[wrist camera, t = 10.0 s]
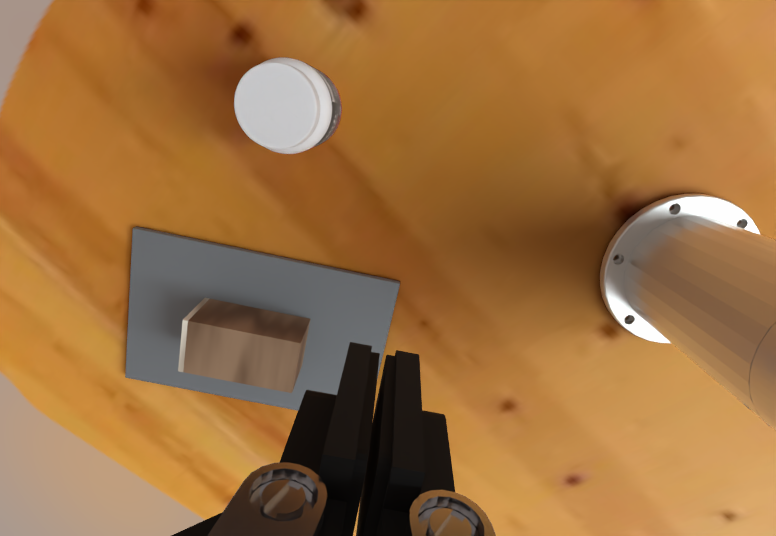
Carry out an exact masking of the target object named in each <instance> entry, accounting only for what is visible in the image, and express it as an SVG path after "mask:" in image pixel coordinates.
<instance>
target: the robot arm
mask: <svg viewBox="0 0 776 536" xmlns="http://www.w3.org/2000/svg"><path fill="white" fill-rule="evenodd" d="M671 205H672V206H671ZM670 206H671V208H670ZM669 208H670V209H669ZM616 255H617V256H616ZM615 256H616V258H614V257H615ZM613 258H614V259H613ZM600 288H601V293H602V298H603V300H604V302H605V305H606V307H607V309H608V311H609V312H610V313H611V315H612V316H613V317H614V319H615V320H616V321H617V322H618V323H619V324H620V325H621V326H622V327H623V328H625V329H626V330H628V331H629V332H631V333H632V334H633V335H635V336H638V337H640V338H642V339H645V340H648V341H653V342H657V343H672V344H673V345H674V346H675V347H677V348H678V349H679V350H680V351H681V352H683V353H684V354H685V355H686V356H687V357H688V358H690V359H691V360H692V361H693V362H694V363H696V364H697V365H698V366H699V367H700V368H701V369H703V370H704V371H705V372H706V373H707V374H709V375H710V376H711V377H712V378H713V379H714V380H716V381H717V382H718V383H719V384H720V385H721V386H723V387H724V388H725V389H726V390H727V391H729V392H730V393H731V394H732V395H733V396H734V397H736V398H737V399H738V400H739V401H740V402H742V403H743V404H744V405H745V406H746V407H747V408H749V409H750V410H751V411H752V412H753V413H755V414H756V415H757V416H758V417H759V418H760V419H762V420H763V421H764V422H765V423H766V424H768V425H769V426H770V427H772V428H773V429H774V430H775V431H776V240H775V239H772V238H769V237H766V236H763V235H760V232H759V229H758V228H757V226H756V224H755V223H754V221H753V220H752V218H751V217H750V216H749V215H748V214H747V213H746V212H745V211H744V210H743V209H741V208H740V207H738V206H736V205H735V204H733V203H731V202H730V201H727V200H724V199H721V198H718V197H714V196H710V195H705V194H681V195H675V196H670V197H667V198H664V199H661V200H658V201H656V202H654V203H652V204H650V205H648V206H646V207H644V208H643V209H641V210H640V211H638V212H637V213H636V214H635V215H633V216H632V217H631V218H629V219H628V220H627V221H626V222H625V223H624V225H623V226H622V227H621V228H620V229H619V230H618V231H617V233H616V234H615V236H614V237H613V239H612V240H611V242H610V243H609V245H608V248H607V250H606V252H605V255H604V257H603V261H602V265H601V270H600ZM371 350H372V346H370V345H364V344H359V343H354V342H350V344H349V348H348V352H347V356H346V360H345V364H344V368H343V372H342V376H341V380H340V384H339V388H338V392H337V395H334V394H328V393H323V392H317V391H312V390H306V392H305V394H304V397H303V399H302V402H301V405H300V408H299V410H298V413H297V416H296V419H295V421H294V424H293V427H292V430H291V432H290V435H289V438H288V441H287V444H286V446H285V449H284V452H283V455H282V457H281V460H280V463H273V464H269V465H266V466H262V467H260V468H259V469H257V470H255V471H254V472H252V473H251V474H250V475H249V476H248V477H247V478H246V479H245V480H244V481H243V483H242V484H241V486H240V487H239V489H238V490H237V492H236V493H235V495H234V496H233V498H232V499H231V501H230V502H229V504H228V505H227V507H226V508H225V510H224V511H223V512H222V513H220V514H218V515H216V516H213V517H211V518H209V519H207V520H205V521H203V522H200V523H198V524H196V525H194V526H192V527H189V528H187V529H185V530H183V531H181V532H178V533H176V534H174V535H172V536H353V532H354V527H355V522H356V517H357V512H358V508H359V503H360V508H359V516H358V525H357V533H356V536H496V535H495V532H494V529H493V527H492V524H491V522H490V521H489V519H488V517H487V515H486V514H485V512H484V511H483V510H482V509H481V508H480V507H479V506H478V505H477V504H476V503H474V502H473V501H471V500H470V499H468V498H467V497H465V496H463V495H460V494H458V493H456V492H455V487H454V480H453V472H452V464H451V456H450V448H449V441H448V433H447V425H446V418H445V415H444V414H439V413H433V412H428V411H422V400H421V381H420V362H419V354H413V353H408V352H403V351H397V350H396V353H395V356H391V355H387V356H386V360H385V364H384V369H383V374H382V379H381V384H380V389H379V394H378V398H377V403H376V408H375V413H374V418H373V411H374V402H375V393H376V384H377V375H378V366H379V357H380V353H375V352H371ZM372 420H373V423H372ZM360 498H361V499H360Z"/></svg>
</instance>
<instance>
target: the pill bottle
mask: <svg viewBox="0 0 776 536" xmlns="http://www.w3.org/2000/svg"><path fill="white" fill-rule="evenodd" d="M234 109H235V114H236V117H237V120H238V123H239V125H240V126H241V128H242V129H243V131H244V132H245V133H246V135H247V136H248V137H249V138H250V139H252V140H253V141H254V142H256V143H257V144H259V145H261V146H263V147H265V148H267V149H269V150H271V151H274V152H277V153H283V154H295V153H300V152H303V151H306V150H308V149H311V148H313V147H315V146H317V145H320V144H322V143H323V142H325V141H326V140H328V139H329V138H330V137H331V136H332V135H333V133H334V132H335V131H336V129H337V127H338V125H339V122H340V119H341V113H342V105H341V99H340V95H339V93H338V90H337V88H336V87H335V85H334V84H333V82H332V81H331V80H330V79H329V78H328V77H327V76H326V75H325V74H324V73H322V72H321V71H319V70H317V69H315V68H313V67H311V66H310V65H308V64H306V63H304V62H302V61H299V60H296V59H292V58H274V59H270V60H267V61H265V62H263V63H261V64H259V65H257V66H255V67H253V68H251V69H250V70H249V71H248V72H246V73H245V74H244V76H243V77H242V78H241V80H240V81H239V83H238V85H237V88H236V91H235V96H234Z"/></svg>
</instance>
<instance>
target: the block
mask: <svg viewBox="0 0 776 536" xmlns="http://www.w3.org/2000/svg"><path fill="white" fill-rule="evenodd" d="M309 324H310V319H309V318H304V317H299V316H294V315H289V314H284V313H279V312H274V311H269V310H264V309H259V308H254V307H249V306H244V305H239V304H234V303H229V302H225V301H220V300H215V299H210V298H204V299H203V300H202V301H201V302H200V303H199V304H198V305H197V306H196V307H195V308H194V309H193V310H192V311H191V312H190V313H189V314H188V315H187V316H186V317H185V318H184V319H183V322H182V333H181V344H180V355H179V366H178V371H179V372H184V373H190V374H195V375H200V376H205V377H210V378H215V379H221V380H226V381H231V382H236V383H241V384H246V385H252V386H257V387H262V388H267V389H272V390H278V391H283V392H288V393H292V392H293V389H294V386H295V383H296V380H297V378H298V375H299V372H300V369H301V367H302V363H303V358H304V352H305V347H306V341H307V335H308V330H309Z"/></svg>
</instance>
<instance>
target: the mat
mask: <svg viewBox="0 0 776 536" xmlns="http://www.w3.org/2000/svg"><path fill="white" fill-rule="evenodd" d="M399 286H400V281H396V280H391V279H386V278H382V277H377V276H372V275H367V274H362V273H358V272H353V271H348V270H343V269H338V268H334V267H329V266H324V265H319V264H314V263H310V262H305V261H300V260H295V259H290V258H286V257H281V256H276V255H271V254H266V253H262V252H257V251H252V250H247V249H242V248H238V247H233V246H228V245H223V244H218V243H214V242H209V241H204V240H199V239H194V238H190V237H185V236H180V235H175V234H170V233H166V232H161V231H156V230H151V229H146V228H142V227H137V226H136V227H134V228H133V234H132V254H131V274H130V294H129V314H128V334H127V354H126V374H125V377H126V378H131V379H136V380H141V381H147V382H152V383H157V384H162V385H168V386H173V387H178V388H183V389H189V390H194V391H199V392H204V393H209V394H215V395H220V396H225V397H230V398H236V399H241V400H246V401H251V402H257V403H262V404H267V405H272V406H277V407H283V408H288V409H293V410H299V408H300V405H301V402H302V399H303V397H304V394H305V392H306V390H312V391H317V392H323V393H328V394H334V395H337V392H338V388H339V384H340V380H341V376H342V372H343V368H344V364H345V360H346V356H347V352H348V348H349V344H350V342H354V343H359V344H364V345H370V346H372V350H371V352H375V353H380V357H379V366H378V374H379V369H380V365H381V361H382V357H383V353H384V348H385V344H386V340H387V336H388V332H389V328H390V323H391V319H392V315H393V311H394V307H395V302H396V298H397V294H398V290H399ZM204 298H210V299H215V300H220V301H225V302H229V303H234V304H239V305H244V306H249V307H254V308H259V309H264V310H269V311H274V312H279V313H284V314H289V315H294V316H299V317H304V318H309V319H310V324H309V330H308V335H307V341H306V347H305V352H304V358H303V363H302V367H301V369H300V372H299V375H298V378H297V380H296V383H295V386H294V389H293V392H292V393H288V392H283V391H278V390H272V389H267V388H262V387H257V386H252V385H246V384H241V383H236V382H231V381H226V380H221V379H215V378H210V377H205V376H200V375H195V374H190V373H184V372H179V371H178V366H179V355H180V344H181V333H182V322H183V319H184V318H185V317H186V316H187V315H188V314H189V313H190V312H191V311H192V310H193V309H194V308H195V307H196V306H197V305H198V304H199V303H200V302H201V301H202V300H203V299H204ZM377 378H378V375H377Z"/></svg>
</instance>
